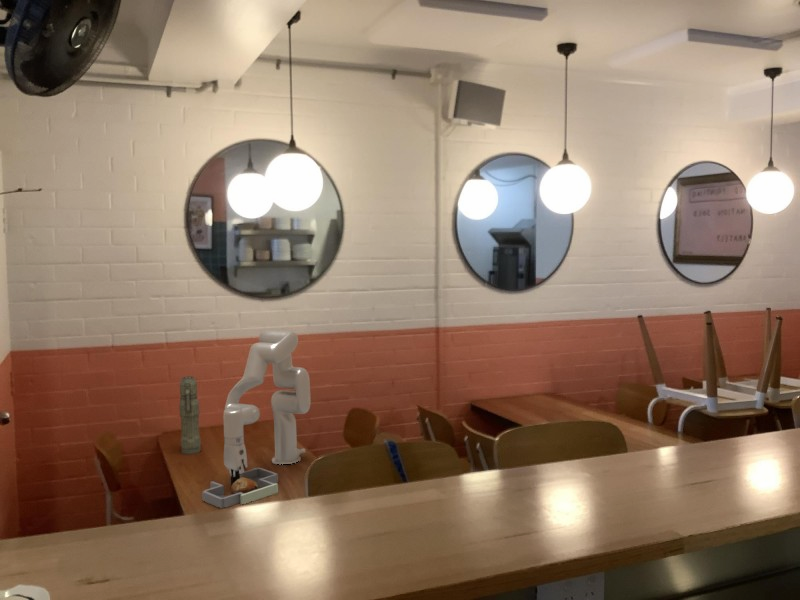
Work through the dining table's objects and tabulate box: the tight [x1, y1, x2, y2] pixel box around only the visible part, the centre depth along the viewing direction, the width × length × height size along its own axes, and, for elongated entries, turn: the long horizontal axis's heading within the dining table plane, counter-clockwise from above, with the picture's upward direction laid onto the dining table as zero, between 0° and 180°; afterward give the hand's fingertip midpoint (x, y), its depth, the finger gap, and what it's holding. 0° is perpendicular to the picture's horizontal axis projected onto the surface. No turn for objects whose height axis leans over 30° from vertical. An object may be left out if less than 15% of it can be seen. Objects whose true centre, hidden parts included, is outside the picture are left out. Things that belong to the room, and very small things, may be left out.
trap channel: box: [201, 467, 279, 509], centre depth 283 cm, size 31×22×4 cm
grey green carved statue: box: [178, 376, 202, 456], centre depth 335 cm, size 9×12×35 cm
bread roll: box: [230, 477, 259, 495], centre depth 282 cm, size 10×10×8 cm
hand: (235, 485), depth 287 cm, fingers closed
